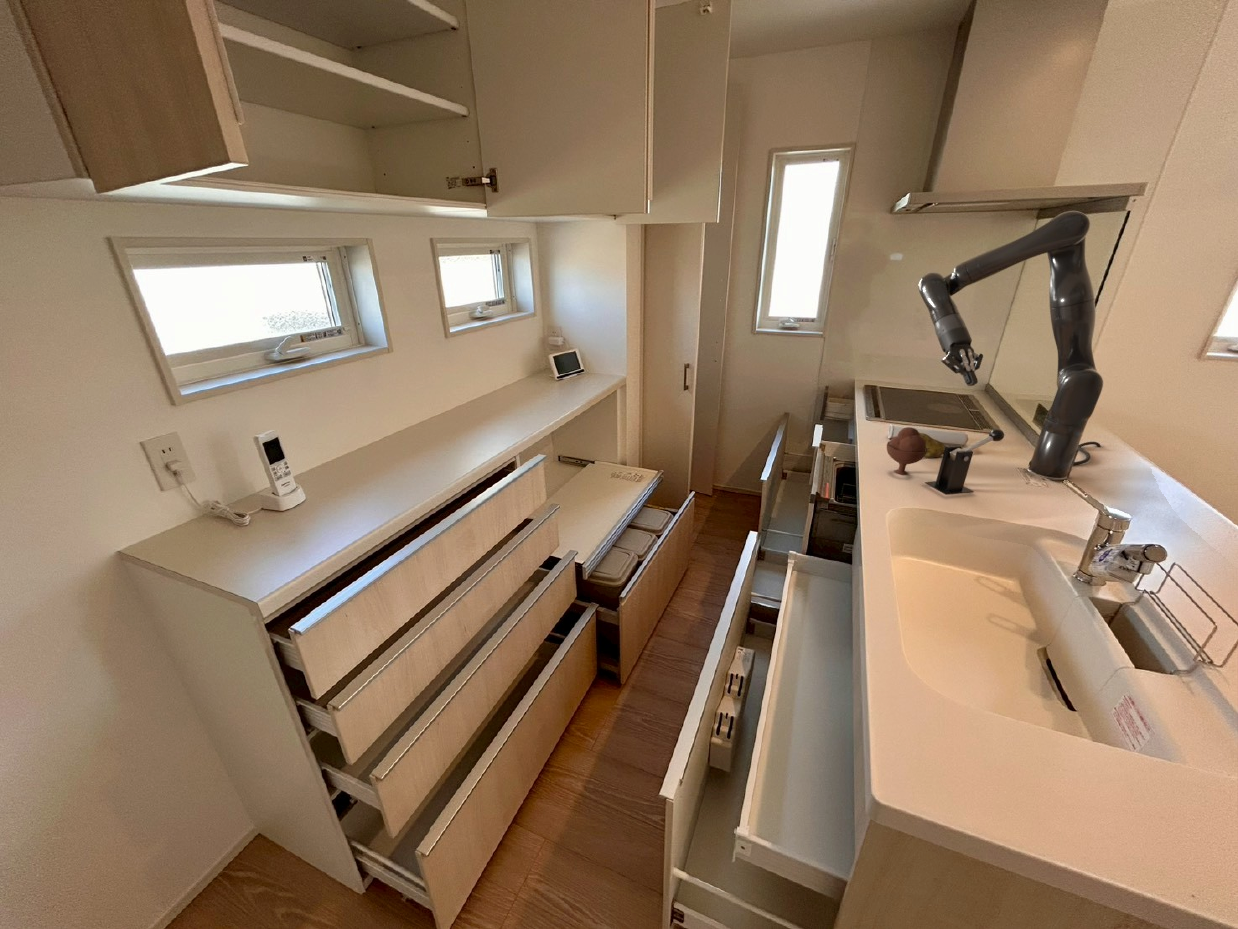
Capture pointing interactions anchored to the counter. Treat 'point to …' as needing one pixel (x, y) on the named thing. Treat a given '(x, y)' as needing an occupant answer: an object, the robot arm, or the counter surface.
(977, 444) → the lever
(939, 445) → the pear
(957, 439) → the tube
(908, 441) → the ice cream bowl
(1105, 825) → the counter surface
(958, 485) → the upright post with base
